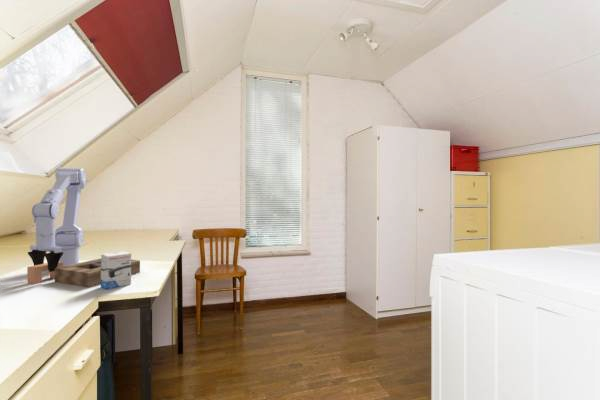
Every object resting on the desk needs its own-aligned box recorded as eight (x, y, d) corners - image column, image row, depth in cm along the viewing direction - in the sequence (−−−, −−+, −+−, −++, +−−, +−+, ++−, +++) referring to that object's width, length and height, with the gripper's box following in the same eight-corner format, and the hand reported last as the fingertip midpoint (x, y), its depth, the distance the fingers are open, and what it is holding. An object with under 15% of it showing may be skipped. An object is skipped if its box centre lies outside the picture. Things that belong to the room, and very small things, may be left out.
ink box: (106, 289, 107) (106, 256, 107) (100, 287, 110) (100, 254, 110) (131, 284, 114) (131, 252, 114) (125, 281, 117) (125, 250, 116)
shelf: (54, 281, 115) (54, 268, 115) (108, 268, 136) (108, 256, 136) (89, 287, 110) (89, 273, 109) (139, 272, 130) (139, 260, 130)
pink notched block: (27, 283, 113) (27, 266, 113) (56, 276, 122) (56, 261, 122) (33, 284, 112) (33, 267, 112) (62, 277, 121) (62, 262, 121)
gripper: (20, 234, 115) (20, 270, 116) (46, 237, 110) (46, 274, 111) (41, 232, 122) (41, 266, 122) (67, 234, 117) (67, 270, 117)
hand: (45, 270), depth 117 cm, fingers open, 7 cm apart
